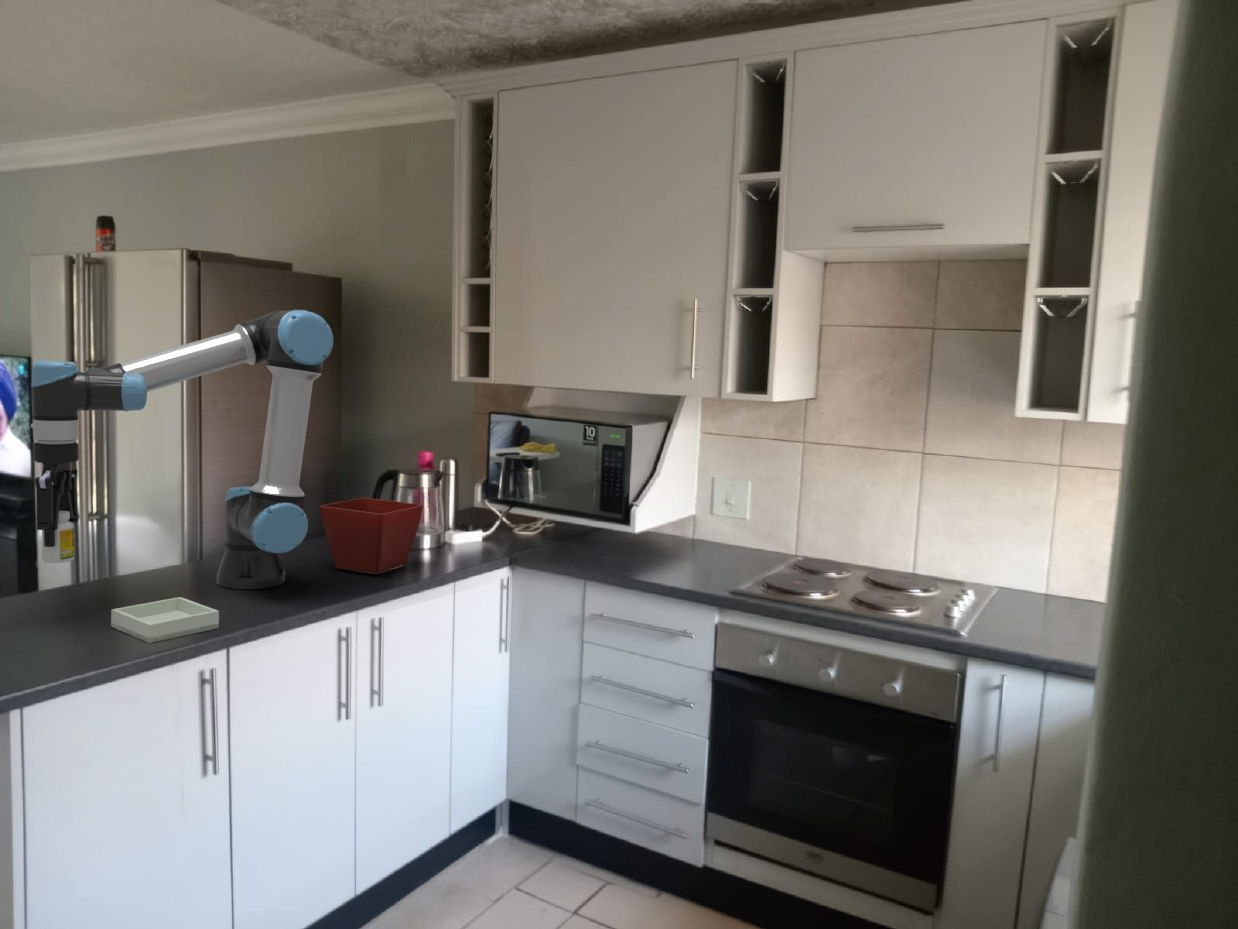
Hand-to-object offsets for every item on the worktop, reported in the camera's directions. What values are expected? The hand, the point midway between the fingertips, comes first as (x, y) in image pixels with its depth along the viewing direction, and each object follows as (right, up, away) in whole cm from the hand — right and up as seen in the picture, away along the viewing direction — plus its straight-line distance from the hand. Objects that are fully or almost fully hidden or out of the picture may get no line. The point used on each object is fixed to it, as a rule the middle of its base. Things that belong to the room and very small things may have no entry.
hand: (58, 558), depth 180 cm
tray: (+21, -14, +1) cm, 25 cm away
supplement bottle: (0, -1, 0) cm, 1 cm away
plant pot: (+45, -9, +59) cm, 75 cm away
